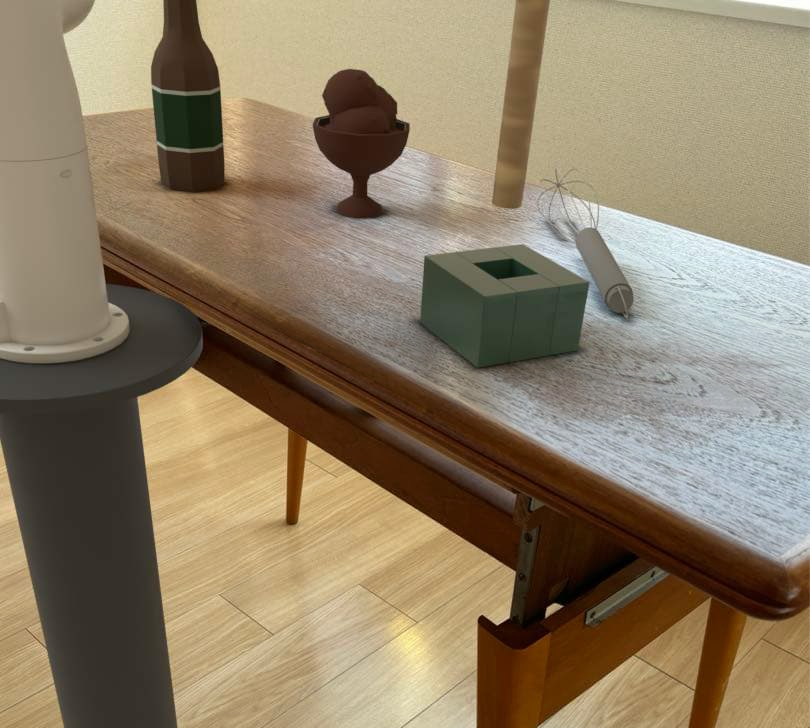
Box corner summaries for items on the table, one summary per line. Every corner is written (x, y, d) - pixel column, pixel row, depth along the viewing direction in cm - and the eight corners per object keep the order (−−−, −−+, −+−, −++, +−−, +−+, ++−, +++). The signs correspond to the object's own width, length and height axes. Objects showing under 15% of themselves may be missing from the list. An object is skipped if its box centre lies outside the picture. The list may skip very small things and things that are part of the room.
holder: (477, 368, 76) (485, 296, 72) (419, 322, 83) (424, 255, 79) (578, 350, 80) (590, 281, 76) (514, 308, 87) (523, 243, 83)
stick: (502, 209, 73) (540, -98, 62) (486, 201, 75) (520, -100, 64) (527, 207, 74) (570, -96, 63) (511, 199, 76) (549, -98, 65)
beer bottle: (193, 171, 119) (177, -51, 105) (238, 184, 116) (228, -45, 102) (146, 183, 114) (123, -50, 100) (192, 196, 110) (175, -44, 96)
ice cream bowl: (389, 230, 104) (396, 81, 95) (297, 215, 106) (295, 69, 98) (418, 205, 112) (427, 67, 103) (332, 192, 115) (333, 56, 106)
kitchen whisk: (592, 323, 85) (604, 254, 81) (528, 214, 112) (535, 159, 109) (658, 325, 85) (673, 256, 82) (578, 216, 113) (587, 161, 109)
